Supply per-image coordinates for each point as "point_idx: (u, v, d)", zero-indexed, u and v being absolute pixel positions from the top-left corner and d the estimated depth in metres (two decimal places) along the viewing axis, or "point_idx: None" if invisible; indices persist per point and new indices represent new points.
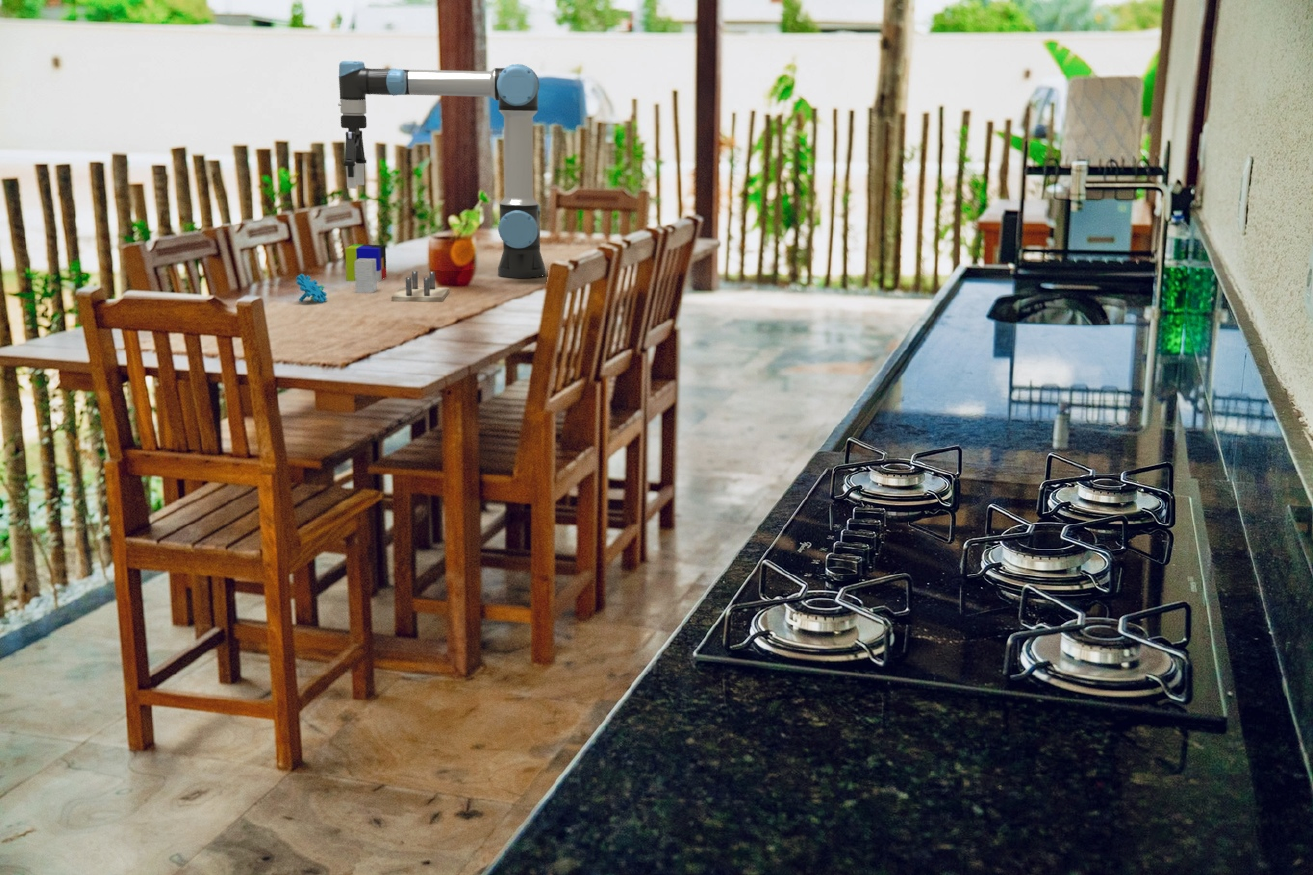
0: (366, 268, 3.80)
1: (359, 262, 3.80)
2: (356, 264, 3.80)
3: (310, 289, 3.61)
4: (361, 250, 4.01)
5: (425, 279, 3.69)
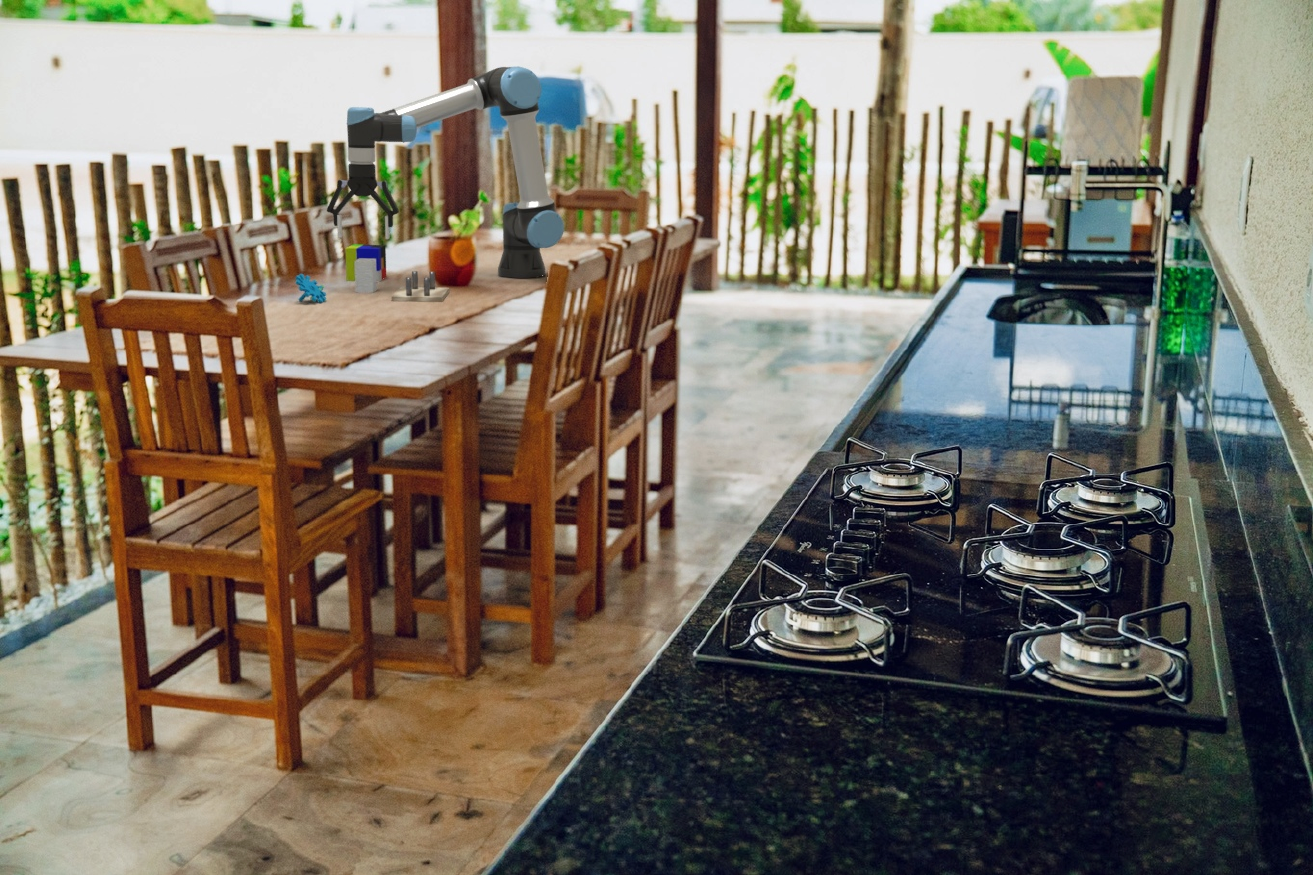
0: (366, 268, 3.80)
1: (359, 262, 3.80)
2: (356, 264, 3.80)
3: (309, 289, 3.61)
4: (361, 250, 4.01)
5: (425, 279, 3.69)
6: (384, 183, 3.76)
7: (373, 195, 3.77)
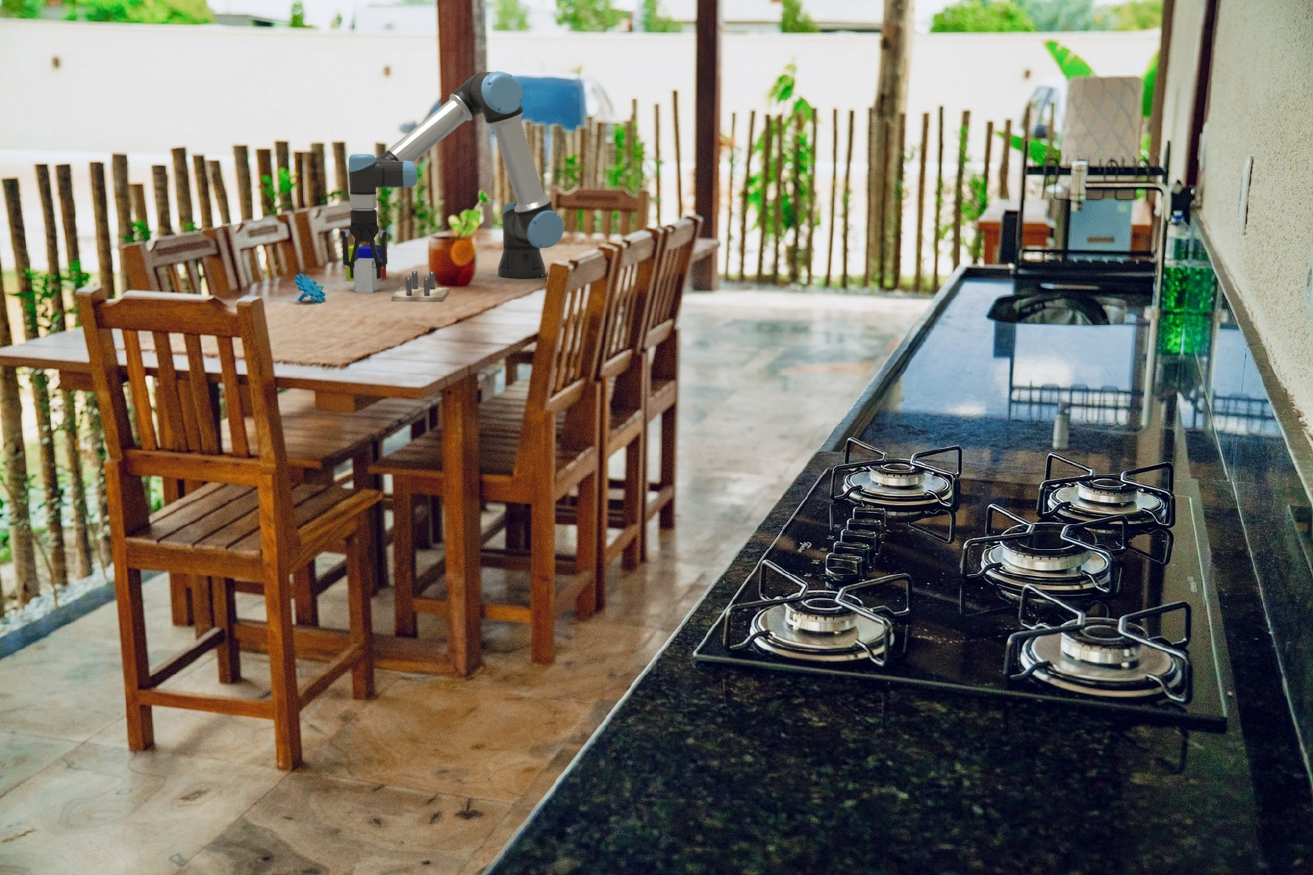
0: (366, 268, 3.80)
1: (359, 262, 3.80)
2: (356, 264, 3.80)
3: (308, 289, 3.61)
4: (361, 250, 4.01)
5: (425, 279, 3.69)
6: (385, 234, 3.80)
7: (370, 243, 3.80)
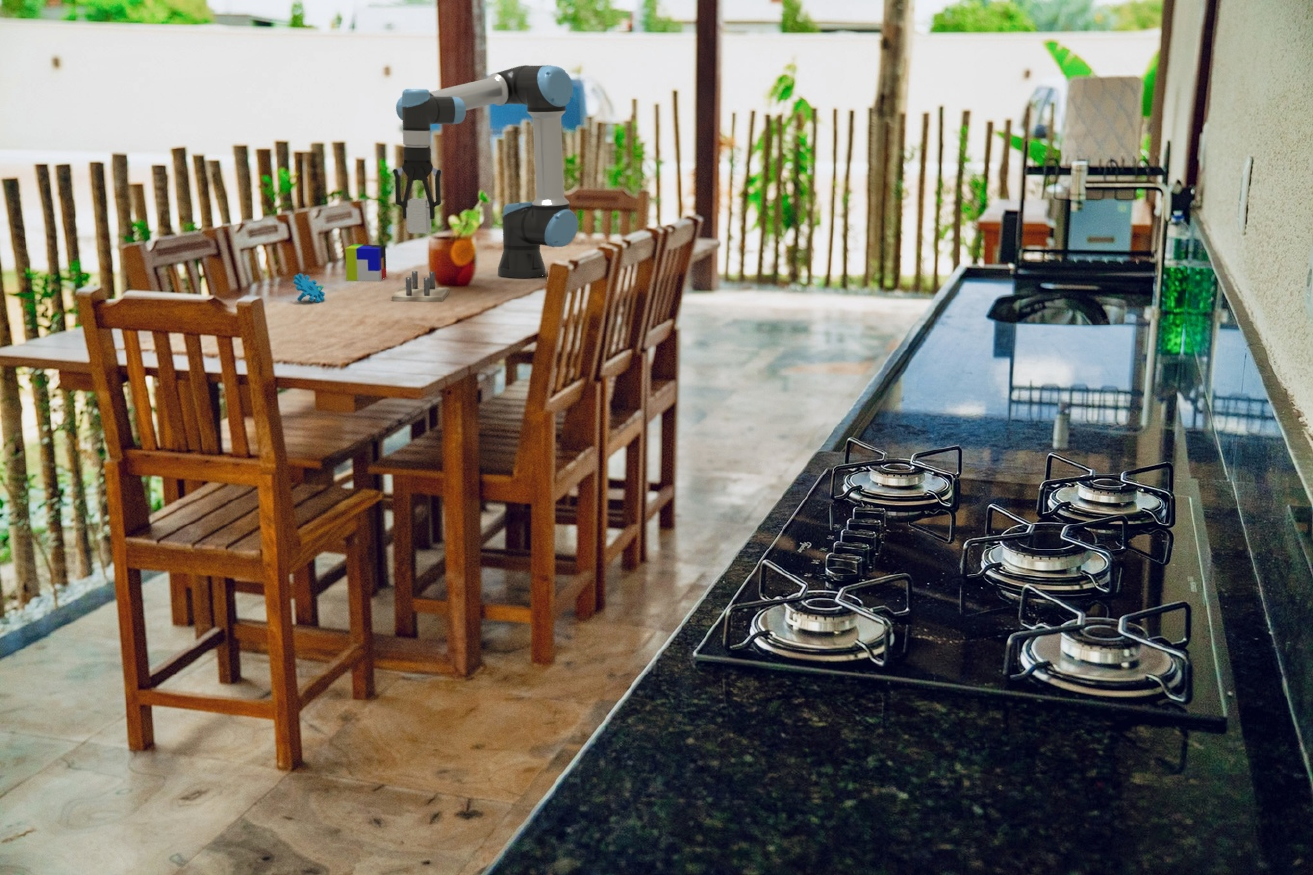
0: (419, 208, 3.67)
1: (412, 201, 3.67)
2: (409, 203, 3.67)
3: (307, 289, 3.62)
4: (361, 250, 4.01)
5: (425, 279, 3.69)
6: (439, 172, 3.67)
7: (424, 181, 3.67)
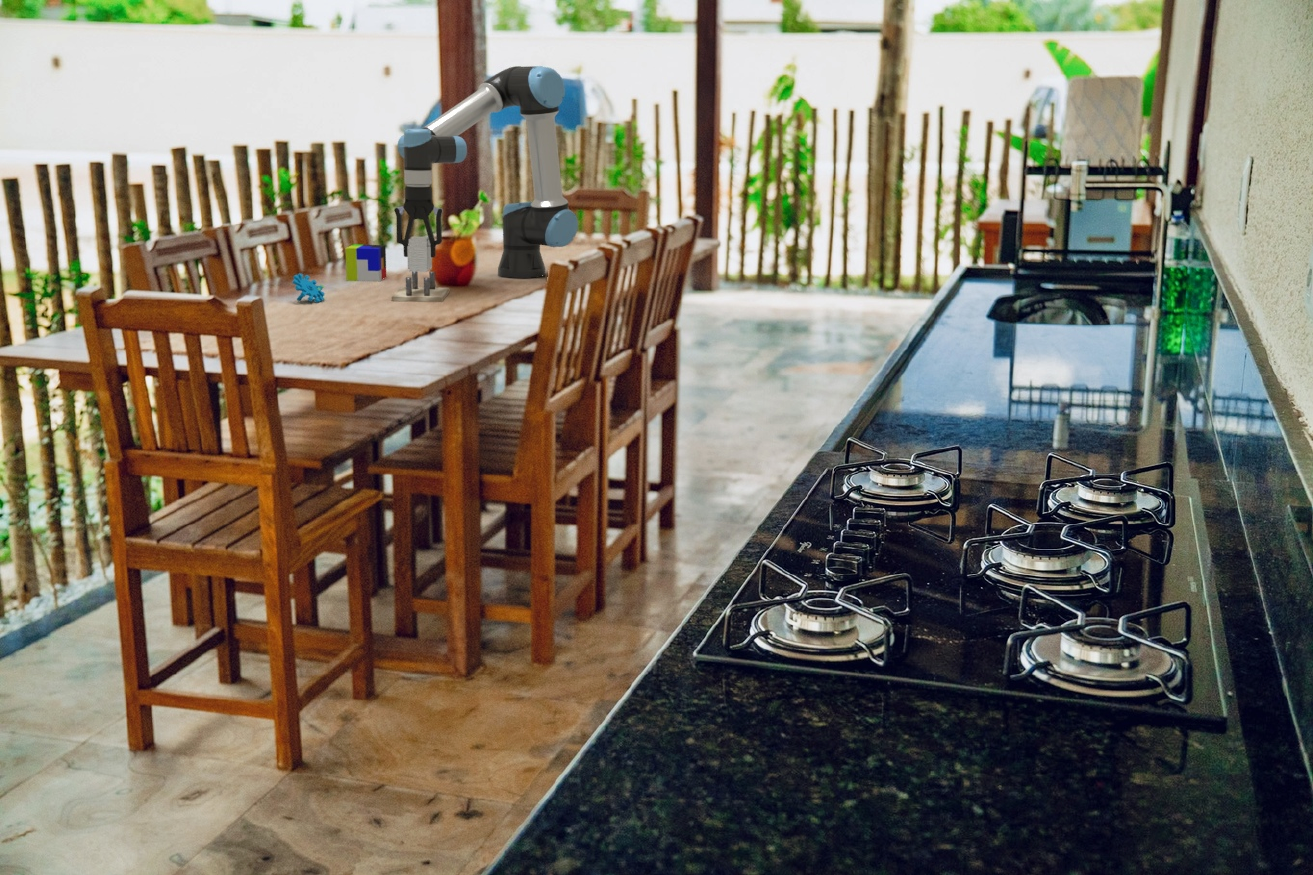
0: (420, 246, 3.70)
1: (413, 240, 3.70)
2: (410, 242, 3.70)
3: (306, 289, 3.62)
4: (361, 250, 4.01)
5: (425, 279, 3.69)
6: (440, 211, 3.70)
7: (425, 220, 3.70)
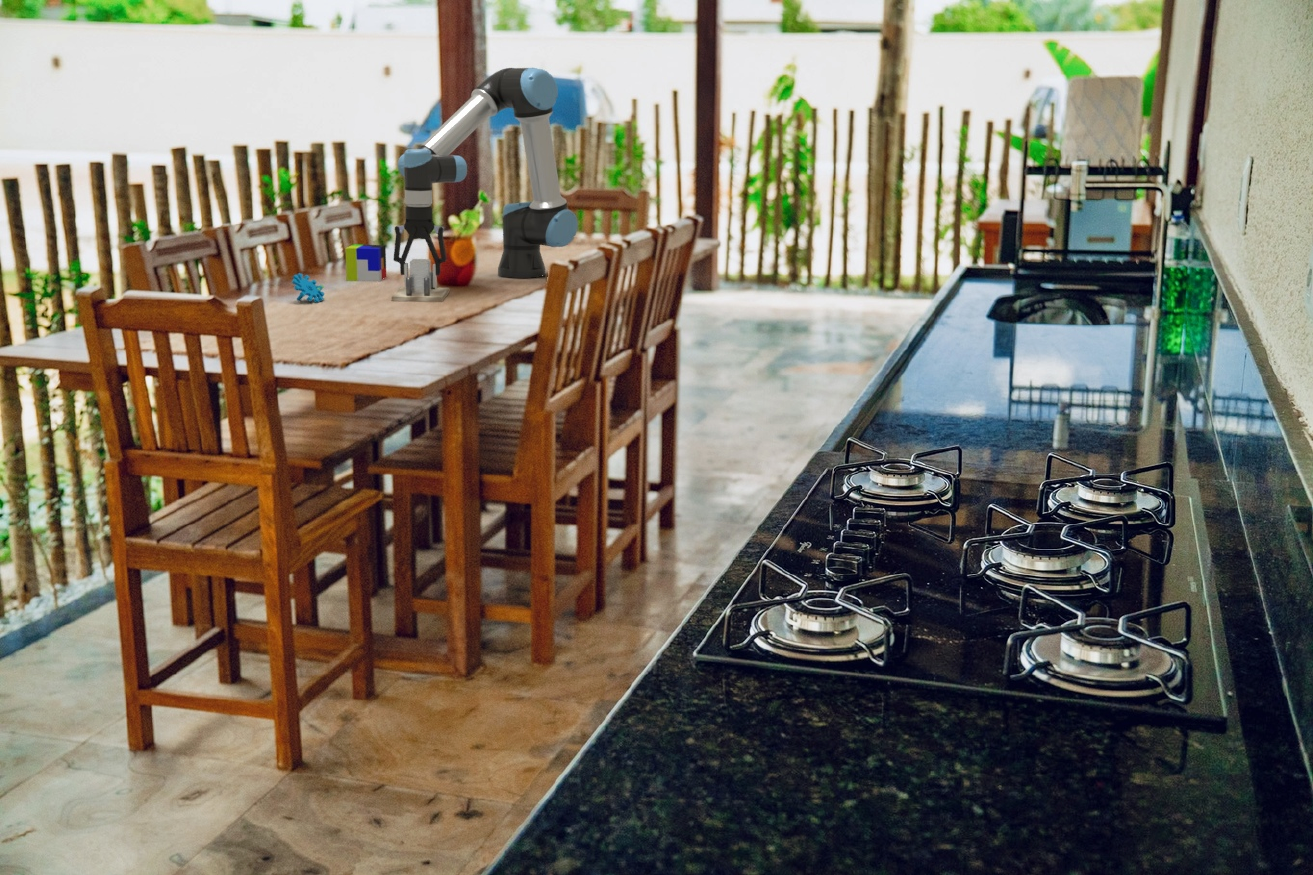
0: (421, 269, 3.72)
1: (414, 263, 3.71)
2: (411, 265, 3.71)
3: (306, 289, 3.62)
4: (361, 250, 4.01)
5: (425, 279, 3.69)
6: (441, 229, 3.71)
7: (427, 239, 3.72)
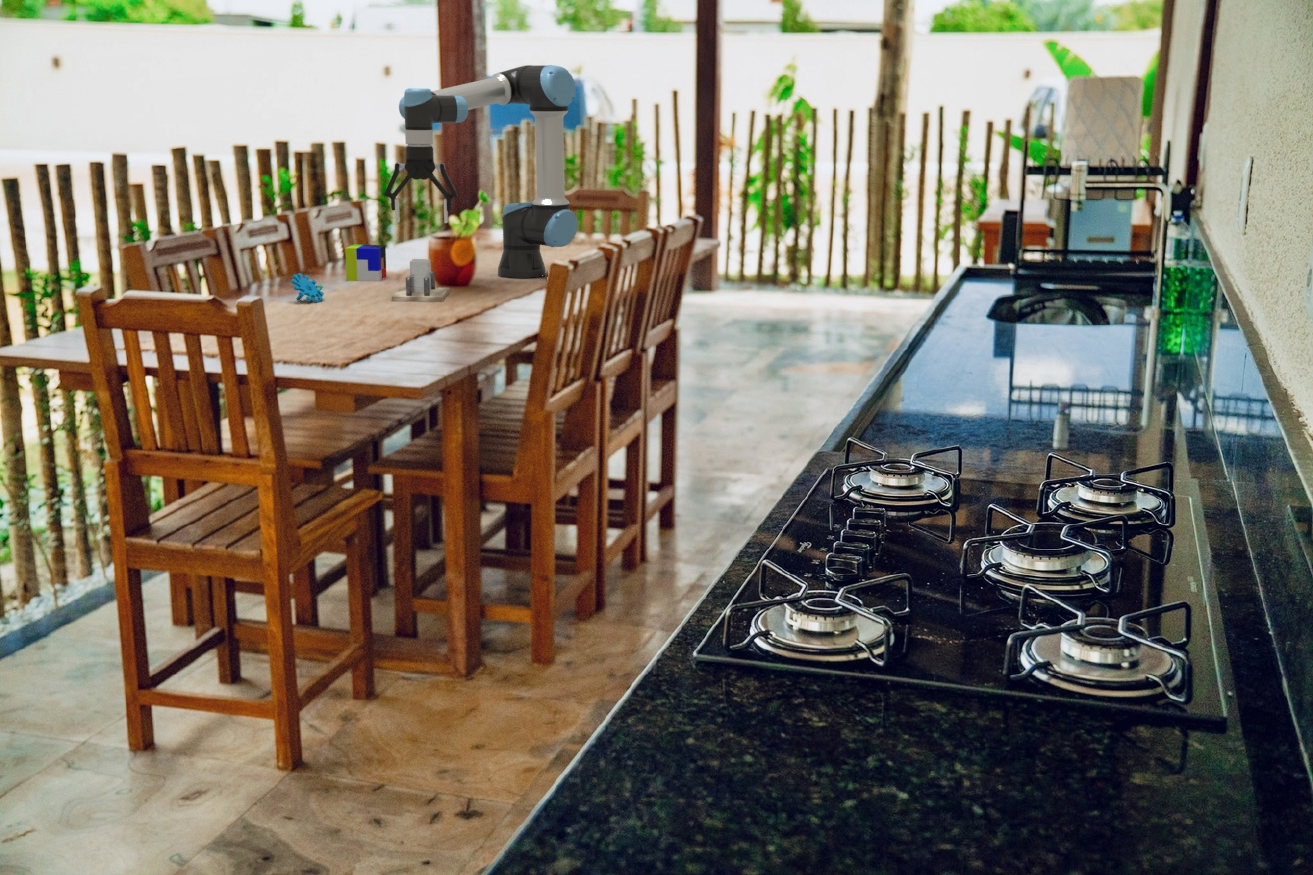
0: (421, 269, 3.72)
1: (414, 263, 3.71)
2: (411, 265, 3.71)
3: (305, 288, 3.62)
4: (361, 250, 4.01)
5: (425, 279, 3.69)
6: (442, 166, 3.68)
7: (431, 178, 3.69)
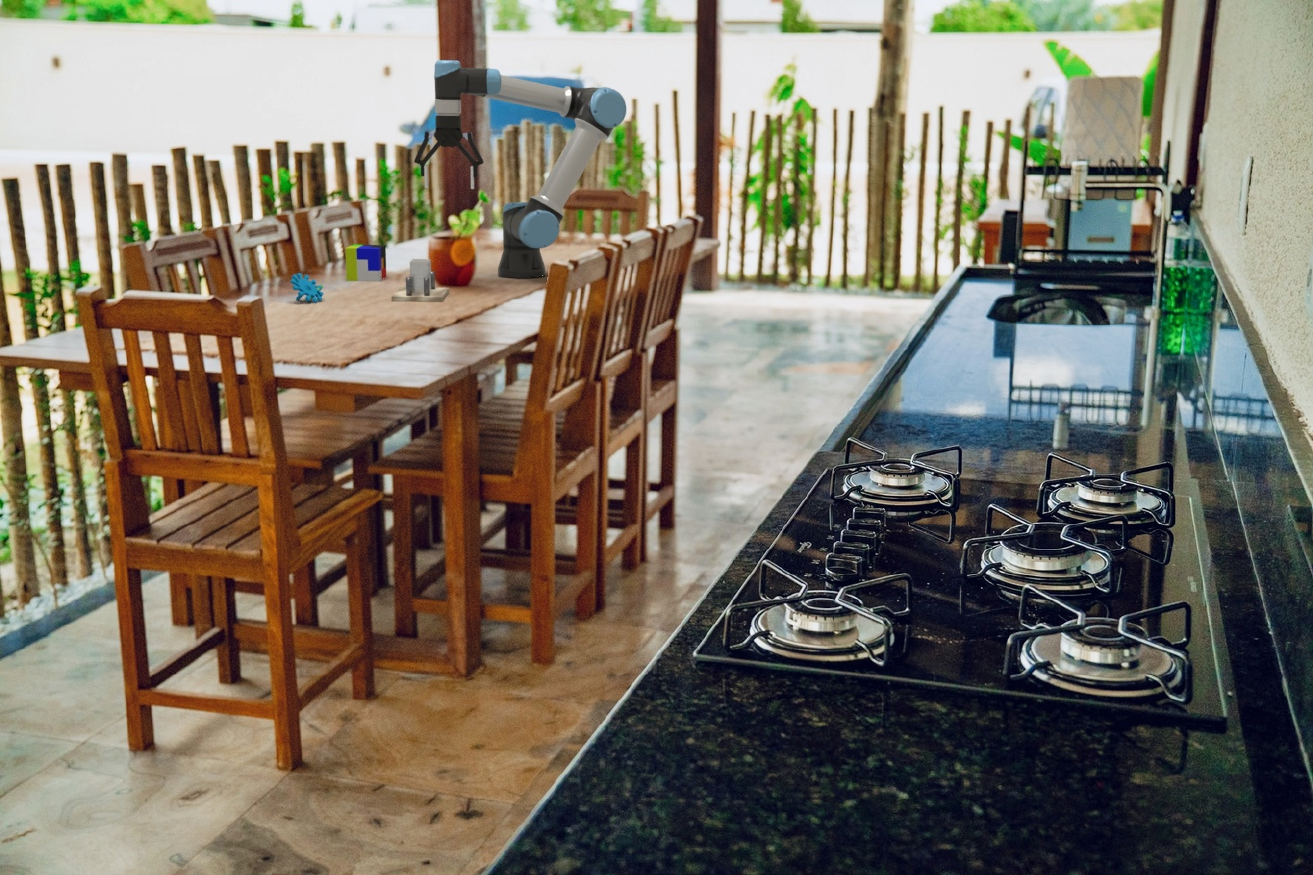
0: (421, 269, 3.72)
1: (414, 263, 3.71)
2: (411, 265, 3.71)
3: (304, 288, 3.62)
4: (361, 250, 4.01)
5: (425, 279, 3.69)
6: (470, 134, 3.88)
7: (459, 146, 3.89)
